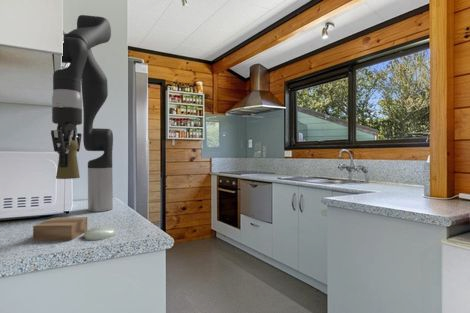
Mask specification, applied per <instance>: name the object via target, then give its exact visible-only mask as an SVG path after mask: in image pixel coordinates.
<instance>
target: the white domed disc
mask: <svg viewBox="0 0 470 313" xmlns="http://www.w3.org/2000/svg"><path fill="white" fill-rule="evenodd" d="M114 236H116V228H114V227H109V226H99V227H93V228H88V229H87V230H86V231H85V232H84V233H83V237H84V239H85V240H89V241H101V240H106V239H110V238H113V237H114Z"/></svg>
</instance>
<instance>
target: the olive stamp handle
mask: <svg viewBox="0 0 470 313" xmlns="http://www.w3.org/2000/svg"><path fill="white" fill-rule="evenodd" d="M64 142H67V141H64ZM68 149H69V151H68V167H59V160H58V162H57V163H58V164H57V170H56V176H55V179H56V180H57V179H59V180H68V179H69V180H73V179H80V177H81V176H80V169H79V163H78V156H77V154H76V151H77V149H78V143H77V142H76V141H73V140H72V141H71V145H70V146H68Z"/></svg>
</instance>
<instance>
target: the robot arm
mask: <svg viewBox="0 0 470 313" xmlns="http://www.w3.org/2000/svg"><path fill="white" fill-rule="evenodd" d="M63 34H64V43H63V56H62V64H69V65H68V67H65V68H61V69H56V70H55V71H53V74H52V95H51V96H52V97H51V100H52V101H51V122H52V123H53V124H54V125H55V124H56V125H57V126H56V129H54V130H52V129H51V131H50V134H51V140H52V147H53V151H54V152H57V154H58V161H59V167H68V151H69V149H68V146H70V145H71V141H72V140H73V141H76V142H77V143H78V149H77V151H76V155H77V153H78V152H80V149H81V141H82V142H83V148H84V149H85V151H88V152H103V154H101V155H100V156H98V157H96V158H93V159H91V160H89V161H88V162H87V210H88V212H95V213H96V212H107V211H111V210H113V207H114V206H113V204H114V203H113V201H114V200H113V194H114V193H113V149H114V148H113V147H114V146H113V145H114V135H113V131H112V129H111V128H99V127H98V128H94V126H93V125H94V121H95V118H96V116H97V114H98V112H99V111H100V110H101V109H102V107H103V105H104V103H105V102H106V100H107V98H108V96H109V95H108V94H109V91H108V90H109V89H108V87H109V86H108V78H107V76H106V73H105V72H104V71H103V69H102V68H101V67H100V65H99V63H98V62H97V60H96V59H95V56H94V54H93V52H92V48H94V47H96V46H99V45H102V44H105V43H108V42H109V41H110V39H111V38H112V28H111V24H110V21H109V20H108V19H107V18H105V17H102V16H98V15H97V16H96V15H84V14H81V15H79V16H77V19H76V28H75V29H73V30H71V31H69V32H68V33H63ZM82 123H83V124H82ZM80 125H83V126H82V127H83V129H82V130H83V131H82V132H83V133H80V132H79V133H78V129H77V126H80ZM82 134H83V135H82ZM82 136H83V137H82ZM82 139H83V140H82ZM64 141H67V142H64Z"/></svg>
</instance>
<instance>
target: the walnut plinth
mask: <svg viewBox="0 0 470 313" xmlns="http://www.w3.org/2000/svg"><path fill="white" fill-rule="evenodd" d="M86 230H88V217H87V216H86V217H85V216H84V217H83V216H82V217H71V216H70V217H52V218H49V219H46V220H44V221H42V222H39V223H36V224H35V225H32V240H33V241H34V242H37V241H39V242H40V241H42V242H43V241H46V242H47V241H49V242H50V241H73V240H74V239H76V238H78V237H79V236H81V235H82V234H84V232H85V231H86ZM33 241H32V242H33Z"/></svg>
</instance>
